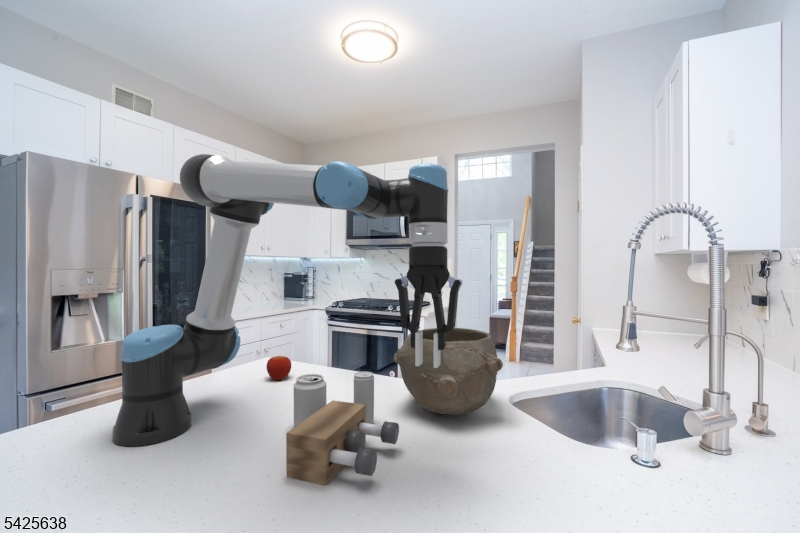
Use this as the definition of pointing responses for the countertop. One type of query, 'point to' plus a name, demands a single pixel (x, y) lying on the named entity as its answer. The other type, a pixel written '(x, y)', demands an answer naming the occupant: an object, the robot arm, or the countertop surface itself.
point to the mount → (321, 441)
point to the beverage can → (365, 393)
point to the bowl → (451, 371)
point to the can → (308, 396)
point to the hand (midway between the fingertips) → (427, 364)
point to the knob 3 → (381, 431)
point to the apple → (278, 367)
